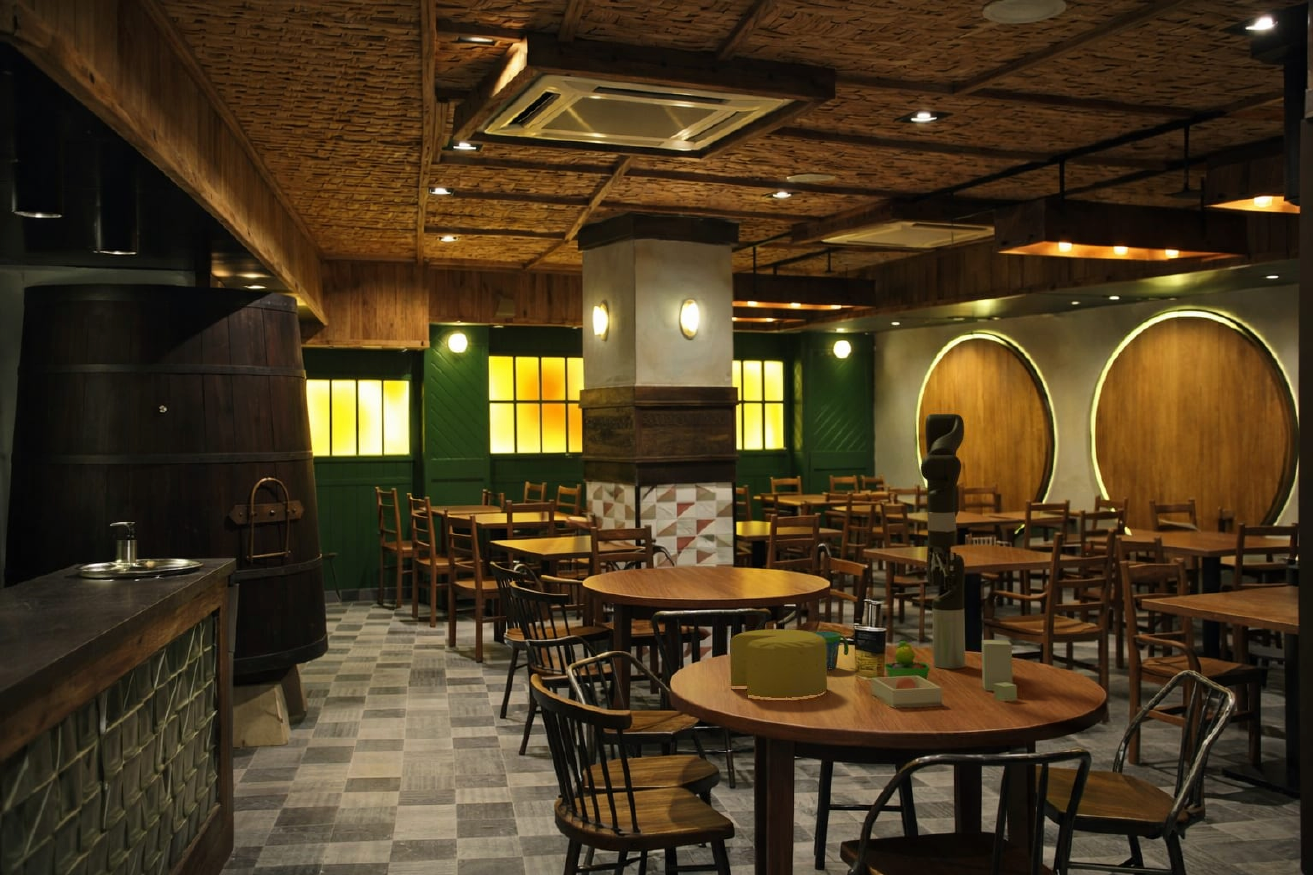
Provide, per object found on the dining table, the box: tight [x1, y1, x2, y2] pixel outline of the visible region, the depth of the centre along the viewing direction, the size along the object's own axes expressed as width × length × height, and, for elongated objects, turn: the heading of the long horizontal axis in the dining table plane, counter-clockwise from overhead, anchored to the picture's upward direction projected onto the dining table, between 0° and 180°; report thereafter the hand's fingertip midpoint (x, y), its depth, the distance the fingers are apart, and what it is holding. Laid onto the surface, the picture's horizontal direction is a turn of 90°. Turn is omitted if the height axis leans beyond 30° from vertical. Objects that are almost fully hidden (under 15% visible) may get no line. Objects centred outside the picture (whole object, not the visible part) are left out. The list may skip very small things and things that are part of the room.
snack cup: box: [811, 631, 849, 670], centre depth 338 cm, size 16×10×10 cm
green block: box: [993, 682, 1018, 702], centre depth 293 cm, size 4×4×4 cm
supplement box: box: [981, 639, 1013, 692], centre depth 306 cm, size 7×7×13 cm
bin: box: [870, 676, 943, 708], centre depth 294 cm, size 16×13×4 cm
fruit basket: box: [884, 640, 931, 681], centre depth 315 cm, size 11×9×11 cm
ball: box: [896, 677, 916, 689], centre depth 294 cm, size 5×5×5 cm
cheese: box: [729, 628, 828, 698], centre depth 308 cm, size 26×26×15 cm
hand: (942, 587), depth 309 cm, fingers open, 8 cm apart
